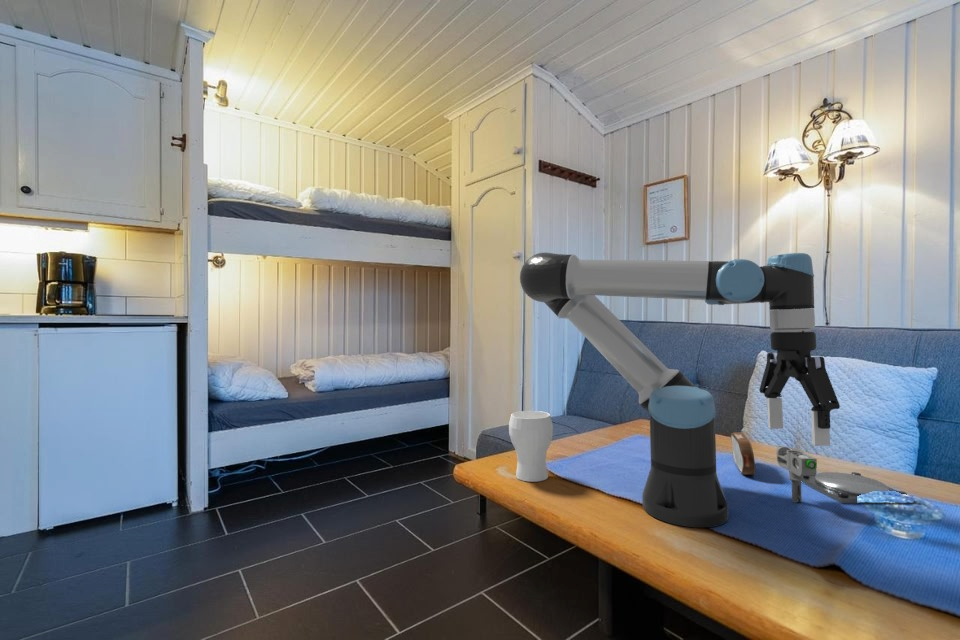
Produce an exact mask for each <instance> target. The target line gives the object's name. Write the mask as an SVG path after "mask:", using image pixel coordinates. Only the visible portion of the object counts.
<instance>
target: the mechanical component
mask: <svg viewBox="0 0 960 640" xmlns="http://www.w3.org/2000/svg"><path fill="white" fill-rule="evenodd" d="M817 459H818V458H816V457H814V456H811V455H809V454H807V453H805V452H804V451H801V450H797V449H796V450H795V449H793V450H791V448H789V447H787V446H784V445H783V446H781V445H780V446H778V447H777V449H776V461H777V464H778V465H779V466H780V467H782V468H783V469H785V470H787V471H788V477H787V478H788V479H789V480H791V502H792V503H795V504H797V503H798V502H799V503H803V502H802V501H803V500H802V499H803V498H802V497H803V496H802V482H801V481H804V478H803V476H815V475H816V474H817V466H818V463H817V462H818V461H817Z"/></svg>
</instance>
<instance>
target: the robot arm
mask: <svg viewBox="0 0 960 640" xmlns="http://www.w3.org/2000/svg"><path fill="white" fill-rule="evenodd" d="M812 259H813V258H812V256H811V255H809V254H808V253H804V252H792V253H791V252H790V253H783V254H775V255H772V256H769V257H768V259H767V263H766V265H763V266H760V265H759V264H757V263H756V262H753V261H752V260H749V259H743V258H740V259H738V258H736V259H731V260H730V261H727V260H726V261H724V260H723V261H722V260H721V261H719V260H717V261H715V260H714V261H709V260H652V259H650V260H648V259H647V260H646V259H645V260H644V259H642V260H639V259H637V260H635V259H580V258H578V256H577V255H575V254H561V253H553V252H539V253H535V254H533V255H532V256H530V257H528V259H527V260H526V261H525V262H524V263H523V265H522V266H521V270H520V274H519V281H520V287H521V289H522V290H523V292H524V293H525V294H526V296H528V297H529V298H530V299H531V300H533V301H536V302H540V303H544V304H545V305H546V306H547V307H548V308H549V309H550V311H552V312H553V313H554V314H555V316H556V317H557V318H558V319H566V320H569V321H570V322H571V324H573V326H575V328H576V329H577V330H578V331H579V332H580V333H581V334H582V335H583V336H584V337H585V338H586V340H588V341H589V343H590V344H591V345H592V346H593V347H594V348H595V349H596V350H597V351H598V352H599V353H600V354H601V355H602V356H603V357H604V358H605V359H606V361H608V363H609V364H611V366H612V367H613V368H614V369H615V370H616V371H617V372H618V373H619V374H620V375H621V376H622V377H623V378H624V380H626V381H627V383H628V384H629V385H630V386H631V387H632V388H633V389H634V390H635V391H636V392H637V393H638V404H639V405H640V406H641V407H642V408H643V409H644V410H645V411H646V413H648V415H649V436H650V437H649V440H650V441H649V442H650V445H649V446H650V469H649V473H648V476H647V480H646V481H645V484H644V488H643V492H642V500H641V501H642V508H643V510H644V511H645V512H646V513H647V514H648V515H650V516H652V517H653V518H655V519H657V520H660V521H663V522H665V523H669V524H673V525H676V526H681V527H688V528H711V527H713V528H714V527H718V526H721V525H723V524H725V523H726V522H727V521H728V519H729V507H728V506H729V505H728V502H727V500H726V497H725V494H724V491H723V489H722V486H721V483H720V481H719V478H718V475H717V474H718V473H717V448H716V447H717V445H716V441H717V440H716V439H717V438H716V415H717V407H716V404H715V399H714V396H713V395H712V393H710V392H709V391H708V390H705V389H702V388H699V386H697V385H694V384H693V383H692V381H690V380H689V379H688V378H687V377H686V376H685V375H684V374H683V372H681V371H680V370H679V369H673V368H668V367H667V366H666V365H665V364H664V363H663V362H662V361H660V359H658V357H657V356H656V355H655V354H654V353H653V352H652V351H651V350H650V349H649V348H648V347H647V346H646V345H645V344H644V343H643V342H642V341H641V340H640V339H639V338H638V337H637V336H636V335H635V333H633V332H632V331H631V330H630V329H629V328H628V327H627V326H626V325H625V324H624V323H623V322H622V321H621V320H620V319H619V318H618V317H617V316H616V315H615V314H614V313H613V312H612V311H611V310H610V309H609V308H608V307H607V306H606V305H605V304H604V303H603V302H602V300H600V299H599V298H598V297H597V296H605V297H606V296H607V297H622V298H623V297H624V298H625V297H626V298H627V297H628V298H649V299H651V298H653V299H670V300H672V299H673V300H692V301H693V300H695V301H697V300H698V301H704V302H705V303H706V304H707V305H715V306H717V305H719V306H724V305H741V304H755V303H757V304H758V303H763V304H764V303H768V305H769V311H768V312H769V329H770V330H772V331H773V332H771V333H770V334H769V336H770V337H769V338H770V349H771V350H773V351H776V352H767V353H766V363H765V367H764V372H763V375H762V379H761V382H760V386H759V393H760V394H764V397H765V398H766V407H767V408H766V410H767V428H768V429H770V430H773V429H774V430H776V429H777V430H778V429H779V430H780V429H782V430H783V429H784V418H783V416H784V415H783V398H782V397H783V396H782V391H783V389H784V388H785V386H786V384H787V383H788V381H789V379H790V378H792V379H793V378H794V379H795V380H796V381H798V382H799V383H800V385H801V387H802V389H803V391H804V393H805V394H806V396H807V399H808V400H809V402H810V403H811V405H812V408H811V409H810V420H811V421H810V423H811V445H812V446H814V447H825V446H826V447H829V446H831V437H830V435H831V434H830V429H831V411H833V410H839V409H840V407H841V405H840V402H839V399H838V398H837V395H836V392H835V390H834V387H833V384H832V382H831V379H830V377H829V374H828V371H827V369H826V362H825V358H824V357H823V356H811V354H812V353H811V352H813V351H815V350H816V349H817V334H816V333H815V331H812V329H815V328H816V317H815V285H814V283H815V282H814V281H815V280H814V279H815V274H814V270H813V260H812Z"/></svg>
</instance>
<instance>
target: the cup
mask: <svg viewBox="0 0 960 640" xmlns="http://www.w3.org/2000/svg"><path fill="white" fill-rule="evenodd" d="M553 427H554V425H553V421H552V416H551V414H550V413H549V412H547V411H546V412H545V411H540V410H522V411H521V410H520V411H516V412H512V413H511V414H510V419H509V422H508V434H509V437H510V441H511V444H512V446H513V447H514V449H515V453H516V458H517V464H516V471H515V473H516V474H515V477H516V478H517V480H519V481H523V482H533V483H534V482H542V481H545V480H547V479H548V478H549V474H548V473H549V472H548V467H547V462H546V459H547V452H548V450H549V447H550V445H551V444H552V439H553V436H554V428H553Z"/></svg>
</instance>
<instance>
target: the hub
mask: <svg viewBox="0 0 960 640" xmlns="http://www.w3.org/2000/svg"><path fill="white" fill-rule="evenodd" d="M803 478H804V481H802V482H803V483H802V482H801V483H802V484H804V483H805V484H804V485H806V486H807V485H808V486H807V487H809V486H810V487H809V488H811V487H812V489H813V488H814V489H813V490H815V489H816V490H815V491H817V492H819V493H820V494H823V495H825V494H826V495H827V497H828V496H829V498H830V497H831V499H832V498H833V499H832V500H834V499H835V501H836V500H837V501H836V502H837V503H840V504H842V503H852V504H858V503H857V496H859V495H861V494H866V493H869V492H872V491H888V490H889V491H896V492H899V493H901V494H906V495H908V494H907V492H906V491H903V490H897V489H894V488H891V487H890V486H888V485H887V484H885V483H883V482H882V481H879V480H877V479H874V478H870V477H868V476H863V475H862V473H860V472H857V471H856V472H855V471H854V472H851V473H846V472H837V471H836V472H832V471H827V472H824V471H823V472H819V473H816V475H815V476H803ZM826 495H825V496H826Z"/></svg>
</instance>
